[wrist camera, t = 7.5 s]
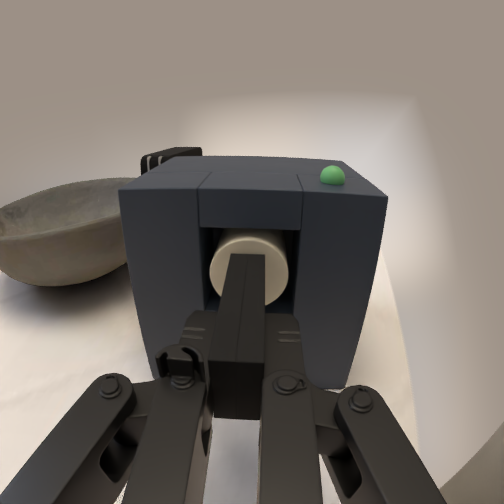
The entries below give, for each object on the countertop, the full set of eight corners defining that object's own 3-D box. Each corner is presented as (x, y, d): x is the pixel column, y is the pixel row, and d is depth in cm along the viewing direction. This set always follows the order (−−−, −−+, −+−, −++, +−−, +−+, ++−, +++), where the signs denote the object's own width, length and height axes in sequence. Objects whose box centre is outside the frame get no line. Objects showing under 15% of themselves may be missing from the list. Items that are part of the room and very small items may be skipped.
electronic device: (204, 211, 49) (202, 146, 44) (172, 234, 40) (167, 156, 36) (180, 209, 50) (177, 146, 45) (145, 231, 41) (139, 156, 37)
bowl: (-14, 349, 18) (-50, 261, 15) (3, 255, 33) (-10, 199, 30) (204, 283, 29) (200, 199, 26) (138, 221, 45) (133, 167, 41)
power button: (221, 270, 19) (219, 211, 17) (283, 272, 19) (286, 213, 17) (211, 306, 15) (207, 238, 14) (285, 309, 15) (291, 240, 14)
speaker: (184, 298, 27) (173, 145, 21) (325, 304, 26) (343, 149, 21) (153, 379, 18) (115, 171, 13) (344, 388, 18) (391, 178, 12)
